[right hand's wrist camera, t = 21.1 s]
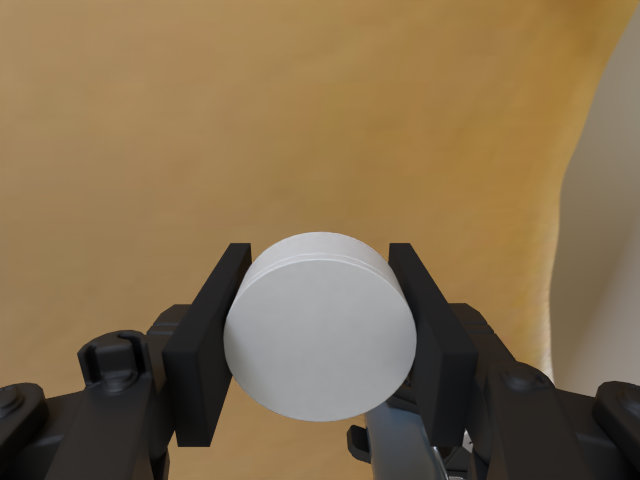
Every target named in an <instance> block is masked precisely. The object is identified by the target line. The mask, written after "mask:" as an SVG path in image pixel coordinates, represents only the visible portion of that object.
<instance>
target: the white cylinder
mask: <svg viewBox="0 0 640 480" xmlns="http://www.w3.org/2000/svg"><path fill="white" fill-rule="evenodd" d="M223 340H224V350H225V357H226V361H227V364H228V366H229V369H230V371H231V373H232V375H233V377H234V378H235V380H236V381H237V383H238V384H239V385H240V387H241V388H242V389H243V390H244V391H245V392H246V393H247V394H248V395H249V396H250V397H251V398H252V399H254V400H255V401H256V402H257V403H259V404H261V405H262V406H264V407H265V408H267V409H269V410H271V411H273V412H275V413H277V414H280V415H283V416H286V417H289V418H293V419H297V420H303V421H311V422H328V421H337V420H343V419H347V418H351V417H354V416H358V415H360V414H363V413H365V412H367V411H369V410H371V409H373V408H375V407H377V406H378V405H380V404H381V403H383V402H384V401H385V400H387V399H388V398H389V397H390V396H391V395H392V394H394V393H395V391H396V390H397V389H398V388H399V387H400V386H401V385H402V383H403V382H404V380H405V379H406V377H407V375H408V373H409V371H410V369H411V367H412V364H413V361H414V358H415V352H416V343H417V332H416V326H415V322H414V318H413V315H412V312H411V310H410V308H409V306H408V303H407V301H406V299H405V296H404V294H403V292H402V290H401V287H400V285H399V283H398V280H397V278H396V276H395V274H394V272H393V270H392V269H391V267H390V266H389V265H388V263H387V262H386V261H385V260H384V258H383V257H382V256H381V255H380V254H379V253H377V252H376V251H375V250H374V249H372V248H371V247H370V246H368V245H366V244H365V243H363V242H361V241H359V240H357V239H354V238H352V237H349V236H346V235H342V234H337V233H331V232H310V233H303V234H298V235H294V236H291V237H289V238H286V239H283V240H281V241H279V242H277V243H275V244H274V245H272V246H271V247H269V248H268V249H266V250H265V251H264V252H263V253H262V254H261V255H260V256H258V257H257V259H256V260H255V261H254V262H253V263H252V265H251V266H250V268H249V269H248V271H247V272H246V274H245V277H244V279H243V281H242V283H241V286H240V288H239V290H238V293H237V295H236V297H235V300H234V302H233V304H232V306H231V309H230V311H229V313H228V316H227V319H226V322H225V326H224V334H223Z"/></svg>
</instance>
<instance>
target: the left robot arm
mask: <svg viewBox="0 0 640 480" xmlns="http://www.w3.org/2000/svg"><path fill="white" fill-rule="evenodd" d="M385 401H386V402H387V403H388V404H391V405H393V406H396V407H399V408H401V409H404V410H407V411H409V412H412V413H415V414H418V415H420V412H419V409H418V406H417V403H416V400H415V397H414V394H413V391H412V387H411V384H410V381H409V378H407V377H406V379H405V380H404V382H403V383H402V385H401V386H400V387H399V388H398V389H397V390H396V391H395V393H394V394H392V395H391V396H390V397H389V398H388V399H387V400H385ZM420 416H421V415H420ZM347 443H348V450H349V452H350V453H351V454H352V456H353V457H355V458H356V459H357V460H360V461H364V462H366V463H369V464H371V459H370V452H369V446H368V439H367V433H366V429H364V428H362V427H359V426H356V425H352V426H351V427H350V428H349V430H348V432H347ZM472 447H473V444H472V442H471V439H470V437H469V435H468V433H467V430H466V428H465V434H464V440H463V445H462V447H438V448H439V450H440V453H441V456H442V459H443V462H444V464H445V467H446V470H447V473H448V476H449V479H450V480H467V474H468V468H469V463H470V458H471V453H472Z"/></svg>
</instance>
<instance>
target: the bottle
mask: <svg viewBox="0 0 640 480" xmlns="http://www.w3.org/2000/svg"><path fill="white" fill-rule="evenodd" d="M407 378H408V375H407ZM364 420H365V426H366V433H367V439H368V446H369V452H370V459H371V466H372V472H373V479H374V480H450V479H449V476H448V473H447V470H446V467H445V464H444V462H443V459H442V456H441V453H440V450H439V448H438V447H430V443H429V440H428V437H427V434H426V431H425V428H424V425H423V422H422V419H421V416H420V415H418V414H415V413H412V412H409V411H407V410H404V409H401V408H399V407H396V406H393V405H391V404H388V403H387V402H386V401H384V402H383V403H381V404H380V405H378V406H377V407H375V408H373V409H371V410H369V411H367V412H365V413H364Z"/></svg>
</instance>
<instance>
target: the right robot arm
mask: <svg viewBox="0 0 640 480" xmlns="http://www.w3.org/2000/svg"><path fill="white" fill-rule="evenodd" d="M251 265H252V258H251V244H250V243H230V245H229V246H228V248H227V250H226V251H225V253H224V254H223V256H222V257H221V259H220V261H219V262H218V264H217V265H216V267H215V268H214V270H213V271H212V273H211V275H210V276H209V278H208V279H207V281H206V282H205V284H204V286H203V287H202V289H201V290H200V292H199V293H198V295H197V297H196V298H195V300H194V301H193V303H192V304H175V305H173V306H172V307H170V308H169V309H167V310H165V311H164V312H162V313H161V314H160V316H159V317H158V318H157V319H156V321H155V322H154V323H153V326H151V327H150V329H149V330H148V331H147V334H146V335H144V334H143V333H141V332H138V331H134V330H120V331H115V332H111V333H107V334H104V335H102V336H99V337H97V338H95V339H93V340H91V341H90V342H88V343H87V344H85V345H84V346H83V347H82V348H81V349H80V350H79V352H78V353H77V355H78V359H79V363H80V366H81V370H82V374H83V377H84V381H85V385H86V387H85V389H84V390H83V391H79V392H76V393H71V394H66V395H62V396H57V397H53V398H48V399H46V398H45V395H44V392H43V389H42V388H41V387H40V386H39V385H37V384H33V383H19V384H12V385H9V386H5V387H2V388H0V480H168V474H169V465H170V460H169V453H168V447H167V446H168V444H169V442H170V440H171V437H172V435H173V433H174V431H175V433H176V438H177V444H178V447H210V444H211V441H212V438H213V435H214V432H215V429H216V426H217V422H218V419H219V416H220V413H221V410H222V407H223V404H224V401H225V397H226V394H227V391H228V388H229V385H230V382H231V379H232V376H233V375H232V373H231V371H230V369H229V366H228V364H227V361H226V357H225V350H224V340H223V334H224V326H225V322H226V319H227V316H228V313H229V311H230V309H231V306H232V304H233V302H234V300H235V297H236V295H237V293H238V290H239V288H240V286H241V283H242V281H243V279H244V277H245V274H246V272H247V271H248V269H249V268H250V266H251ZM388 265H389V266H390V267H391V269H392V270H393V272H394V274H395V276H396V278H397V280H398V283H399V285H400V287H401V290H402V292H403V294H404V296H405V299H406V301H407V303H408V306H409V308H410V310H411V312H412V315H413V318H414V322H415V326H416V332H417V343H416V352H415V358H414V361H413V364H412V367H411V369H410V371H409V373H408V378H409V381H410V384H411V387H412V391H413V394H414V397H415V400H416V403H417V406H418V409H419V412H420V415H421V419H422V422H423V425H424V428H425V431H426V434H427V437H428V440H429V443H430V447H462V445H463V440H464V434H465V428H466V430H467V433H468V435H469V437H470V439H471V442H472V444H473V447H472V453H471V458H470V463H469V468H468V474H467V480H640V386H637V385H634V384H631V383H626V382H619V381H610V382H604V383H603V384H602V385H600V386H599V387H598V390H597V393H596V396H595V397H591V396H586V395H581V394H577V393H572V392H568V391H563V390H560V389H556V388H555V386H554V384H553V383H552V382H551V380H550V379H549V378H548V377H547V376H546V375H545V374H544V373H542V372H541V371H540V370H538V369H536V368H534V367H532V366H530V365H528V364H525V363H521V362H518V361H516V360H515V358H514V357H513V356H512V354H511V353H510V352H509V350H508V349H507V348H506V346H505V345H504V344H503V343H502V341H501V340H500V339H499V337H498V336H497V335H496V334H494V331H493V329H492V328H491V327H490V325H487V322H486V320H485V319H484V318H483V316H482V315H481V314H480V312H478V311H477V310H475V309H474V308H472V307H471V306H469V305H468V304H466V303H448V302H447V301H446V299H445V298H444V296H443V295H442V293H441V291H440V290H439V288H438V287H437V285H436V284H435V282H434V280H433V279H432V277H431V276H430V274H429V273H428V271H427V270H426V268H425V266H424V265H423V263H422V262H421V260H420V259H419V257H418V255H417V254H416V252H415V251H414V249H413V248H412V246H411V244H410V243H390V247H389V261H388Z"/></svg>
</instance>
